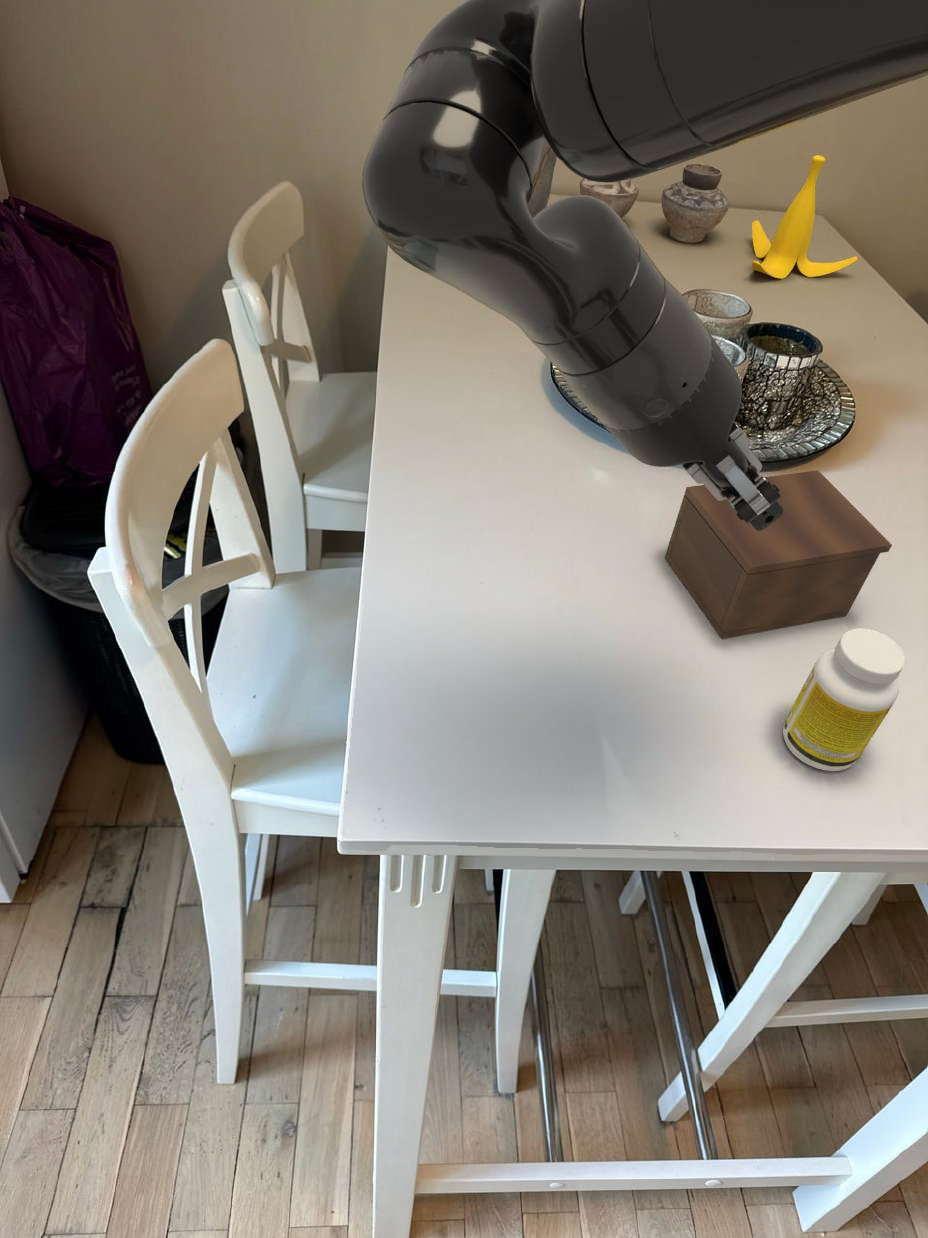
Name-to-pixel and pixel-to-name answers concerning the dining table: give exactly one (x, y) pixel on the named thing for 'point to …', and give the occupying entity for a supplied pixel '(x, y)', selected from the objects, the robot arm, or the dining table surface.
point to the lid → (793, 526)
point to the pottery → (673, 200)
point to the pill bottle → (844, 700)
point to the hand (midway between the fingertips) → (766, 516)
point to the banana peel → (794, 236)
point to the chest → (758, 582)
